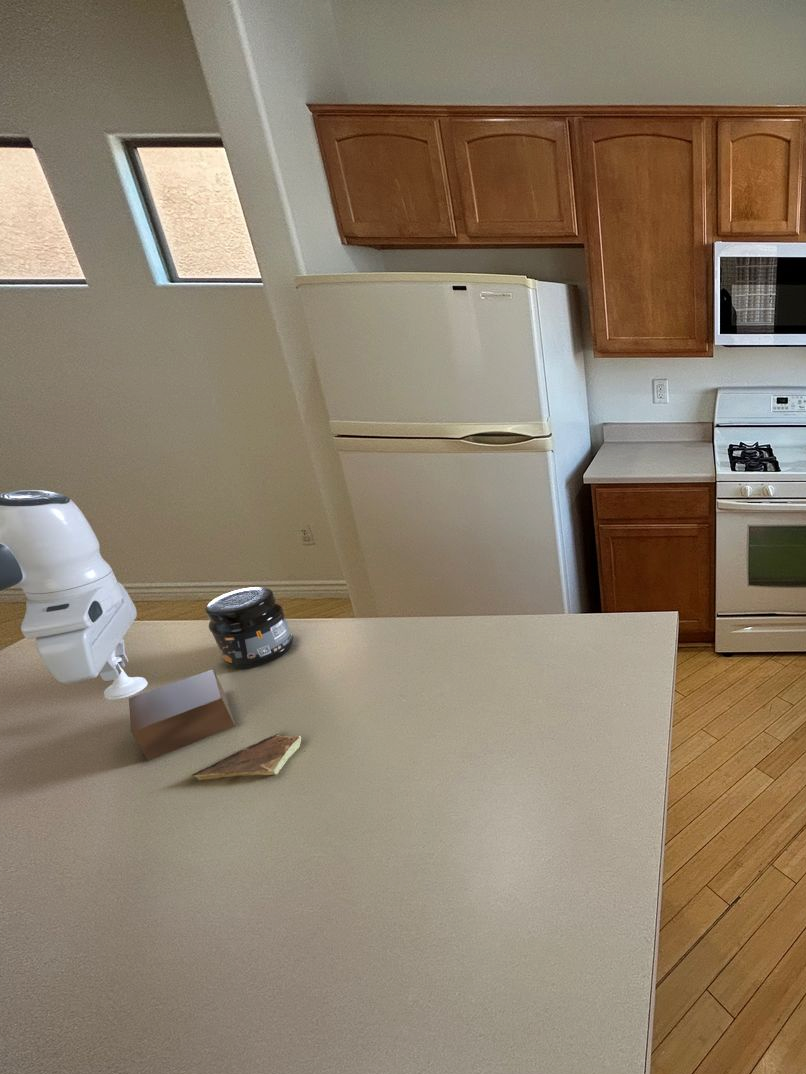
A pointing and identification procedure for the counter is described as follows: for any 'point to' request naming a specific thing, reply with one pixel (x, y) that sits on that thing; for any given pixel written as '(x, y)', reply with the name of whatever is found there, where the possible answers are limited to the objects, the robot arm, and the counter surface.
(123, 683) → the chess piece
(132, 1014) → the counter surface
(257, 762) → the shard
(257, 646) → the supplement container
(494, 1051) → the counter surface
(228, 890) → the counter surface
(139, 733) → the walnut block
